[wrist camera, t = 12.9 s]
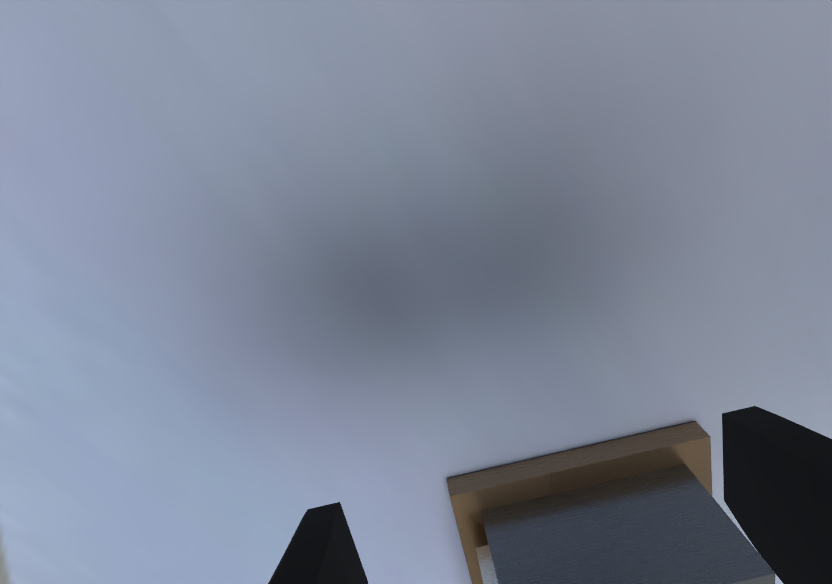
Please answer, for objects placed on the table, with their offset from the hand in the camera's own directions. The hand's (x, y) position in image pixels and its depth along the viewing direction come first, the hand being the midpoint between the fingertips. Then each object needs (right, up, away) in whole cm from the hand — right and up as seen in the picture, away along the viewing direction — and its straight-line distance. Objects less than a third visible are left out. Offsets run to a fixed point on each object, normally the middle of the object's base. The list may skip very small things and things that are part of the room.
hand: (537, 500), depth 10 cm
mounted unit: (+5, -6, +13) cm, 15 cm away
